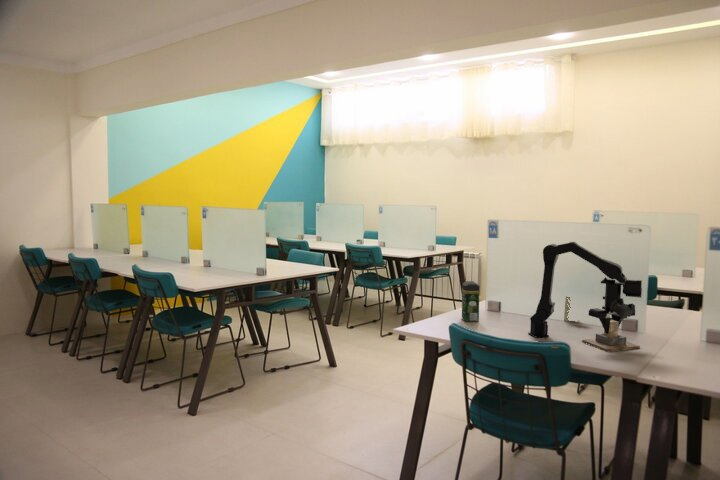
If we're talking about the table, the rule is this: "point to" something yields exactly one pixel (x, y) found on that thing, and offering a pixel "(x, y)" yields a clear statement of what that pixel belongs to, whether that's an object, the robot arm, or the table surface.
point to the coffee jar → (470, 301)
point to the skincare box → (566, 308)
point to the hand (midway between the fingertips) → (610, 333)
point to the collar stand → (611, 343)
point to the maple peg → (612, 329)
